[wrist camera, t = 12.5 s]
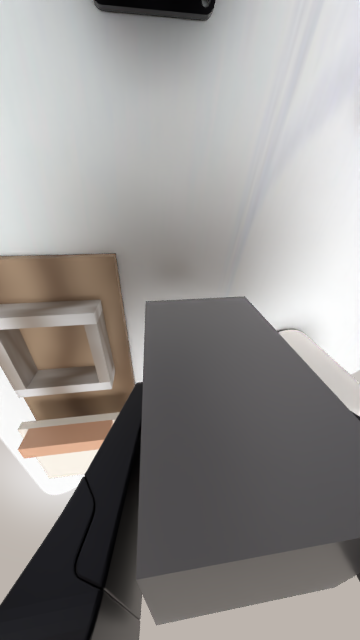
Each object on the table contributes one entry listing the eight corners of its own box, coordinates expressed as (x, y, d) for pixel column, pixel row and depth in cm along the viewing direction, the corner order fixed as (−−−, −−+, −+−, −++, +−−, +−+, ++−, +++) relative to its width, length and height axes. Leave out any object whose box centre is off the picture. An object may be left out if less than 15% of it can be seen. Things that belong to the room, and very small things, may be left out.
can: (249, 370, 27) (310, 477, 17) (263, 327, 24) (348, 428, 14) (296, 368, 28) (380, 468, 18) (315, 327, 25) (431, 421, 15)
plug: (244, 296, 10) (451, 520, 3) (232, 369, 12) (334, 587, 6) (145, 301, 9) (136, 579, 3) (152, 376, 12) (156, 625, 5)
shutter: (123, 411, 23) (119, 437, 20) (133, 460, 28) (131, 486, 25) (21, 422, 21) (5, 450, 19) (52, 471, 27) (42, 498, 24)
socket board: (115, 253, 18) (108, 265, 15) (141, 425, 30) (140, 451, 27) (-42, 257, 17) (-84, 271, 14) (51, 435, 29) (40, 463, 26)
